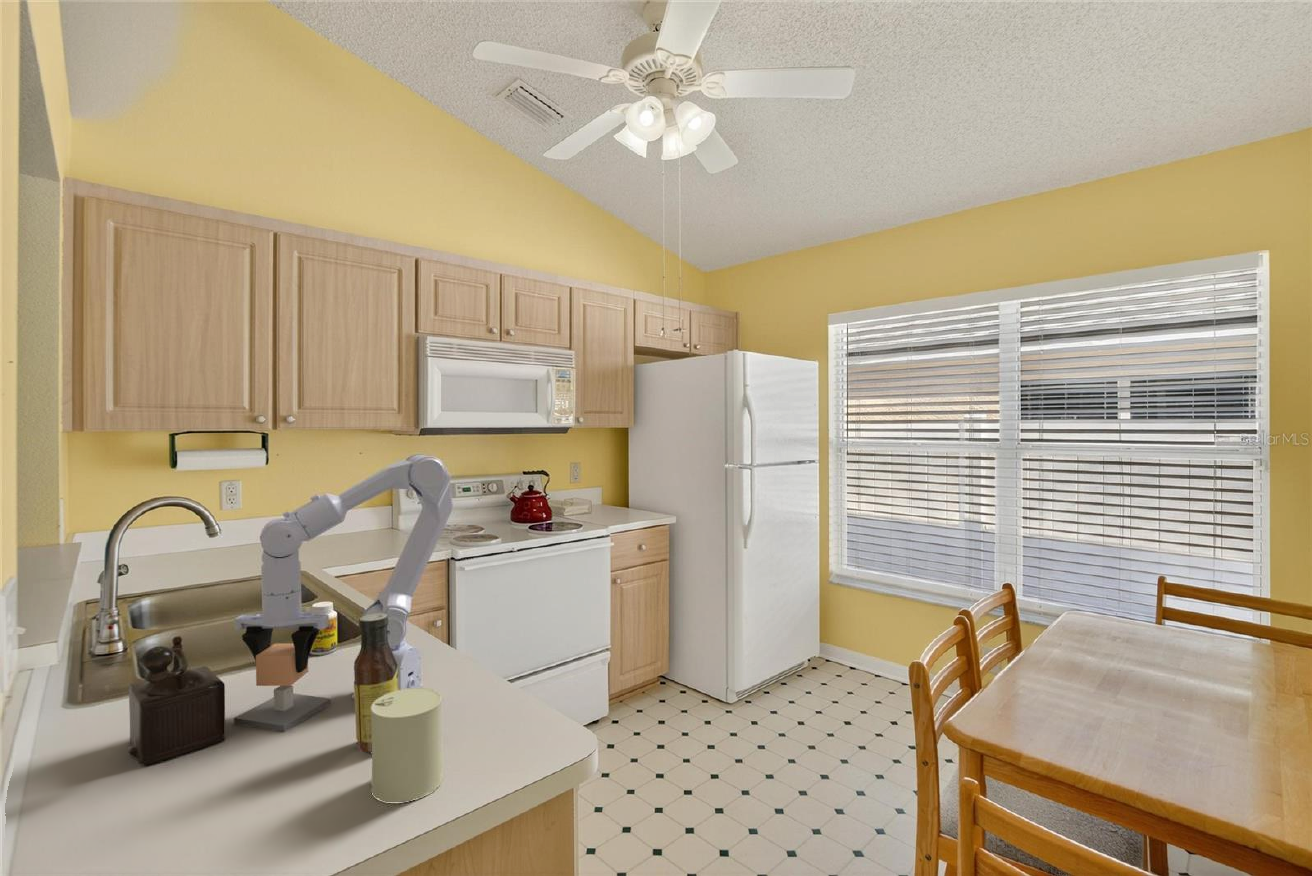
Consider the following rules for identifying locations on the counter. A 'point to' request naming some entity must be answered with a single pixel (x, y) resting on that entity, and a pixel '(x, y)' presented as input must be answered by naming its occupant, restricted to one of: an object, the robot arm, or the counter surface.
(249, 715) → the shaft base
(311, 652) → the supplement bottle
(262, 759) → the counter surface
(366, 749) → the sauce bottle
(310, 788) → the counter surface
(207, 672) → the dark brown boxy piece
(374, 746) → the can
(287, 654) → the orange cube
